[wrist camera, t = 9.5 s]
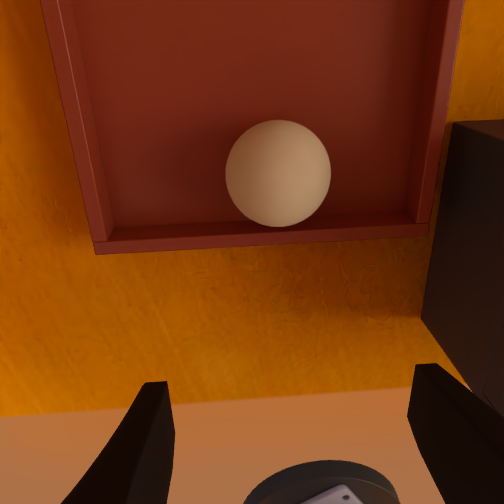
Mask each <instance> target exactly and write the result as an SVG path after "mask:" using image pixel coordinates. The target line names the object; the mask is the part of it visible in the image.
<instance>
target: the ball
mask: <svg viewBox="0 0 504 504" xmlns="http://www.w3.org/2000/svg"><path fill="white" fill-rule="evenodd" d="M330 179H331V167H330V161H329V157H328V154H327V151H326V149H325V147H324V146H323V144H322V142H321V141H320V140H319V139H318V137H317V136H316V135H315V134H314V133H313V132H311V131H310V130H309V129H307V128H306V127H304V126H302V125H300V124H298V123H295V122H292V121H286V120H271V121H266V122H263V123H260V124H257V125H255V126H253V127H251V128H250V129H248V130H247V131H246V132H245V133H243V134H242V135H241V136H240V137H239V139H238V140H237V141H236V142H235V144H234V145H233V147H232V149H231V151H230V154H229V156H228V159H227V163H226V185H227V189H228V192H229V194H230V196H231V198H232V200H233V202H234V204H235V205H236V207H237V208H238V209H239V210H240V211H241V212H242V213H243V214H244V215H245V216H247V217H248V218H249V219H251V220H253V221H255V222H257V223H259V224H262V225H266V226H271V227H284V226H290V225H293V224H296V223H298V222H301V221H303V220H304V219H306V218H308V217H309V216H310V215H311V214H313V213H314V212H315V211H316V210H317V209H318V207H319V206H320V205H321V203H322V202H323V200H324V198H325V196H326V194H327V192H328V189H329V185H330Z"/></svg>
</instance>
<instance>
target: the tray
mask: <svg viewBox="0 0 504 504" xmlns="http://www.w3.org/2000/svg"><path fill="white" fill-rule="evenodd" d="M464 3H465V0H40V4H41V8H42V13H43V17H44V22H45V26H46V31H47V36H48V40H49V45H50V49H51V54H52V58H53V63H54V68H55V72H56V77H57V81H58V86H59V90H60V95H61V100H62V104H63V109H64V113H65V118H66V122H67V127H68V132H69V136H70V141H71V145H72V150H73V154H74V159H75V164H76V168H77V173H78V177H79V182H80V186H81V191H82V196H83V200H84V205H85V209H86V214H87V219H88V223H89V228H90V232H91V237H92V241H93V246H94V250H95V254H96V255H103V254H120V253H138V252H155V251H172V250H190V249H207V248H225V247H242V246H259V245H277V244H294V243H312V242H329V241H347V240H364V239H381V238H399V237H416V236H428V231H429V225H430V224H429V222H430V218H431V211H432V205H433V199H434V192H435V186H436V180H437V173H438V167H439V161H440V154H441V148H442V142H443V135H444V129H445V123H446V117H447V110H448V104H449V98H450V91H451V85H452V79H453V72H454V66H455V60H456V53H457V47H458V41H459V34H460V28H461V22H462V15H463V9H464ZM271 120H286V121H292V122H295V123H298V124H300V125H302V126H304V127H306V128H307V129H309V130H310V131H311V132H313V133H314V134H315V135H316V136H317V137H318V139H319V140H320V141H321V142H322V144H323V146H324V147H325V149H326V151H327V154H328V157H329V161H330V167H331V179H330V185H329V189H328V192H327V194H326V196H325V198H324V200H323V202H322V203H321V205H320V206H319V207H318V209H317V210H316V211H315V212H314V213H313V214H311V215H310V216H309V217H308V218H306V219H304V220H303V221H301V222H298V223H296V224H293V225H290V226H284V227H271V226H266V225H262V224H259V223H257V222H255V221H253V220H251V219H249V218H248V217H247V216H245V215H244V214H243V213H242V212H241V211H240V210H239V209H238V208H237V207H236V205H235V204H234V202H233V200H232V198H231V196H230V194H229V192H228V189H227V185H226V163H227V159H228V156H229V154H230V151H231V149H232V147H233V145H234V144H235V142H236V141H237V140H238V139H239V137H240V136H241V135H242V134H243V133H245V132H246V131H247V130H248V129H250V128H251V127H253V126H255V125H257V124H260V123H263V122H266V121H271Z"/></svg>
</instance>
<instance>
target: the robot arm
mask: <svg viewBox="0 0 504 504" xmlns="http://www.w3.org/2000/svg"><path fill="white" fill-rule="evenodd" d="M407 418H408V421H409V423H410V426H411V429H412V432H413V435H414V438H415V441H416V443H417V446H418V449H419V451H420V453H421V455H422V457H423V459H424V461H425V464H426V466H427V468H428V470H429V472H430V474H431V476H432V478H433V480H434V482H435V484H436V486H437V488H438V490H439V492H440V494H441V496H442V497H443V500H444V502H445V504H504V417H503V416H501V415H500V414H499V413H497V412H496V411H495V410H494V409H492V408H491V407H490V406H489V405H487V404H486V403H485V402H484V401H482V400H481V399H480V398H479V397H477V396H476V395H475V394H474V393H472V392H471V391H470V390H469V389H467V388H466V387H465V386H464V385H463V384H461V383H460V382H459V381H458V380H457V379H455V378H454V377H453V376H452V375H451V374H449V373H448V372H447V371H446V370H444V369H443V368H442V367H441V366H439V365H438V364H437V363H430V364H416V366H415V371H414V377H413V383H412V389H411V396H410V402H409V408H408V414H407ZM174 443H175V429H174V422H173V416H172V410H171V403H170V397H169V390H168V384H167V381H162V382H147V383H145V384H144V385H143V386H142V387H141V389H140V391H139V393H138V395H137V396H136V398H135V400H134V402H133V403H132V405H131V407H130V408H129V410H128V412H127V413H126V415H125V417H124V418H123V420H122V422H121V423H120V425H119V426H118V428H117V429H116V431H115V432H114V434H113V435H112V437H111V438H110V440H109V442H108V443H107V445H106V446H105V447H104V449H103V450H102V451H101V453H100V454H99V456H98V457H97V458H96V460H95V461H94V462H93V464H92V465H91V467H90V468H89V469H88V471H87V472H86V473H85V475H84V476H83V477H82V478H81V480H80V481H79V482H78V484H77V485H76V486H75V487H74V488H73V490H72V491H71V492H70V493H69V495H68V496H67V497H66V498H65V499H64V500H63V501H62V503H61V504H167V497H168V492H169V486H170V481H171V475H172V469H173V456H174ZM300 504H363V503H362V501H361V500H360V499H359V498H358V497H357V496H356V495H355V494H354V493H353V492H352V491H351V490H350V489H349V488H348V487H347V486H346V485H343V484H340V485H337V486H335V487H333V488H331V489H329V490H327V491H325V492H322V493H320V494H318V495H316V496H314V497H312V498H310V499H308V500H306V501H304V502H302V503H300Z"/></svg>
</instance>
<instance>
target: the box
mask: <svg viewBox="0 0 504 504" xmlns="http://www.w3.org/2000/svg"><path fill="white" fill-rule="evenodd" d="M421 320H422V321H423V322H424V324H425V325H426V327H427V328H428V329H429V331H430V332H431V334H432V335H433V337H434V338H435V339H436V341H437V342H438V344H439V345H440V347H441V348H442V349H443V351H444V352H445V354H446V355H447V356H448V358H449V359H450V361H451V362H452V364H453V365H454V366H455V368H456V369H457V371H458V372H459V374H460V375H461V376H462V378H463V379H464V381H465V382H466V383H467V385H468V386H469V388H470V389H471V390H472V392H473V393H474V394H475V395H476V396H477V397H479V398H480V399H481V400H482V401H484V402H485V403H486V404H487V405H489V406H490V407H491V408H492V409H494V410H495V411H496V412H497V413H499V414H500V415H501V416H503V417H504V119H503V120H481V121H460V122H454V123H453V127H452V133H451V139H450V145H449V151H448V157H447V163H446V169H445V175H444V181H443V188H442V194H441V200H440V206H439V212H438V218H437V224H436V230H435V236H434V242H433V248H432V254H431V260H430V266H429V272H428V278H427V284H426V290H425V296H424V302H423V308H422V314H421Z"/></svg>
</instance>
